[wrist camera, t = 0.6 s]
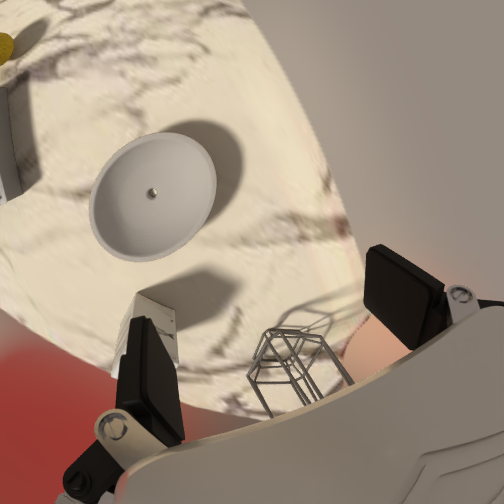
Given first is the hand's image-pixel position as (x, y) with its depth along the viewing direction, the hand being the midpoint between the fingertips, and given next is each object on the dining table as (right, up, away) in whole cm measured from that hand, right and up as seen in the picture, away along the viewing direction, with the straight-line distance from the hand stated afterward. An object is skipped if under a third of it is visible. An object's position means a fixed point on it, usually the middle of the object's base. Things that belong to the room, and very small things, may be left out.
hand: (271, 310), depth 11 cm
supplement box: (-18, -8, +31) cm, 37 cm away
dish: (-14, +10, +24) cm, 30 cm away
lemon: (-38, +32, +8) cm, 50 cm away
